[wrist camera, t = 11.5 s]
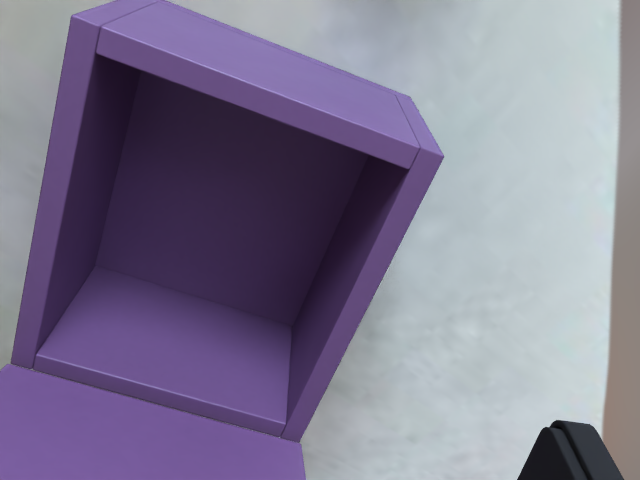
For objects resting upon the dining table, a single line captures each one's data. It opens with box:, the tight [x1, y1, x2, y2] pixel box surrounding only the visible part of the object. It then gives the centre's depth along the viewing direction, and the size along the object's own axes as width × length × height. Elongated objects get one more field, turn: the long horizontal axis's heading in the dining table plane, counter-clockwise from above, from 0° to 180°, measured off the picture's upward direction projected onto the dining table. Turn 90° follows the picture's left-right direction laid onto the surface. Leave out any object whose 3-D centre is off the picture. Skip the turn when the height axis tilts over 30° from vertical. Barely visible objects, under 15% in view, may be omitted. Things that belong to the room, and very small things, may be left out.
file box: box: [11, 0, 444, 443], centre depth 28 cm, size 16×14×9 cm
